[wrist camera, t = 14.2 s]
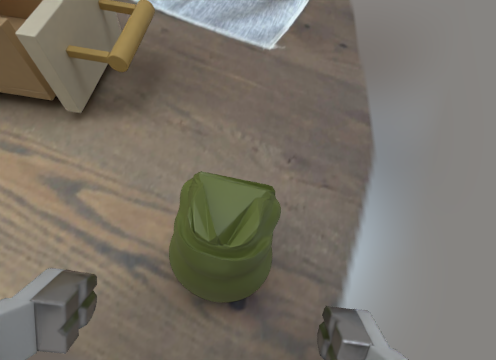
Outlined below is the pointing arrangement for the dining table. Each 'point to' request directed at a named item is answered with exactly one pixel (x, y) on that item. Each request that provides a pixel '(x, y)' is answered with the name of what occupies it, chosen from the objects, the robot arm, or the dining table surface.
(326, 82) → the dining table surface
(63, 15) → the drawer
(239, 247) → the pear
